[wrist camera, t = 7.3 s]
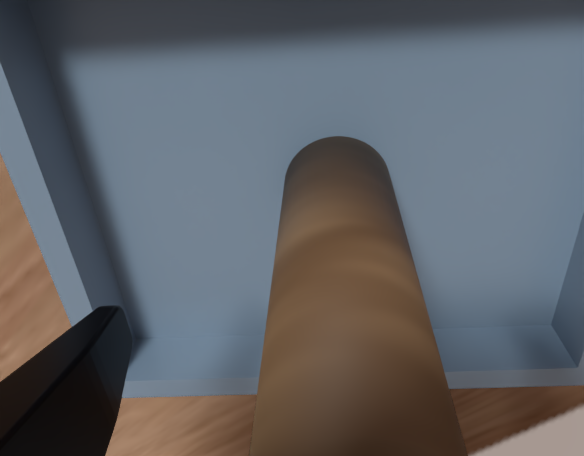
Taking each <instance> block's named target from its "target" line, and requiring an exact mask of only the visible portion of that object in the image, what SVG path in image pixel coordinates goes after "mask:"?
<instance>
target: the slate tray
mask: <svg viewBox="0 0 584 456" xmlns="http://www.w3.org/2000/svg"><path fill="white" fill-rule="evenodd" d="M333 136H345V137H351V138H355V139H358V140H360V141H363V142H365V143H367V144H368V145H370V146H371V147H373V148H374V149H375V150H376V151H377V152H378V153H379V154H380V155H381V157H382V158H383V159H384V161H385V163H386V165H387V168H388V171H389V174H390V178H391V181H392V185H393V188H394V192H395V196H396V199H397V203H398V206H399V210H400V214H401V217H402V221H403V225H404V228H405V232H406V235H407V239H408V243H409V246H410V250H411V253H412V257H413V261H414V264H415V268H416V271H417V275H418V279H419V282H420V286H421V289H422V293H423V297H424V300H425V304H426V307H427V311H428V315H429V318H430V322H431V325H432V329H433V333H434V336H435V340H436V344H437V347H438V351H439V354H440V358H441V362H442V365H443V369H444V372H445V376H446V380H447V383H448V387H449V389H466V388H502V387H539V386H575V385H584V0H0V153H1V155H2V158H3V160H4V162H5V165H6V167H7V170H8V172H9V175H10V177H11V180H12V182H13V184H14V187H15V189H16V192H17V194H18V197H19V199H20V201H21V204H22V206H23V209H24V211H25V214H26V216H27V218H28V221H29V223H30V226H31V228H32V231H33V233H34V236H35V238H36V240H37V243H38V245H39V248H40V250H41V253H42V255H43V257H44V260H45V262H46V265H47V267H48V270H49V272H50V274H51V277H52V279H53V282H54V284H55V287H56V289H57V292H58V294H59V296H60V299H61V301H62V304H63V306H64V309H65V311H66V313H67V316H68V318H69V321H70V323H71V326H72V327H73V326H74V325H75V324H76V323H78V322H79V321H80V320H82V319H83V318H84V317H86V316H87V315H88V314H90V313H91V312H92V311H93V310H95V309H96V308H98V307H99V306H108V305H119V306H121V307H122V308H123V310H124V312H125V315H126V318H127V321H128V324H129V328H130V331H131V334H132V338H133V347H132V352H131V356H130V361H129V366H128V371H127V375H126V380H125V385H124V389H123V394H122V398H138V397H174V396H211V395H247V394H257V390H258V383H259V375H260V367H261V359H262V352H263V344H264V336H265V329H266V321H267V313H268V305H269V298H270V290H271V282H272V274H273V267H274V259H275V251H276V243H277V236H278V228H279V220H280V213H281V205H282V197H283V189H284V182H285V175H286V172H287V169H288V166H289V164H290V162H291V161H292V159H293V158H294V157H295V155H296V154H297V153H298V152H299V151H300V150H301V149H303V148H304V147H305V146H307V145H308V144H310V143H312V142H314V141H316V140H319V139H322V138H326V137H333Z"/></svg>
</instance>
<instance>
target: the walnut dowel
mask: <svg viewBox="0 0 584 456" xmlns="http://www.w3.org/2000/svg"><path fill="white" fill-rule="evenodd" d="M249 456H468V455H467V452H466V448H465V444H464V441H463V437H462V434H461V430H460V426H459V423H458V419H457V416H456V412H455V408H454V405H453V401H452V398H451V394H450V390H449V387H448V383H447V380H446V376H445V372H444V369H443V365H442V362H441V358H440V354H439V351H438V347H437V344H436V340H435V336H434V333H433V329H432V325H431V322H430V318H429V315H428V311H427V307H426V304H425V300H424V297H423V293H422V289H421V286H420V282H419V279H418V275H417V271H416V268H415V264H414V261H413V257H412V253H411V250H410V246H409V243H408V239H407V235H406V232H405V228H404V225H403V221H402V217H401V214H400V210H399V206H398V203H397V199H396V196H395V192H394V188H393V185H392V181H391V178H390V174H389V171H388V168H387V165H386V163H385V161H384V159H383V158H382V157H381V155H380V154H379V153H378V152H377V151H376V150H375V149H374V148H373V147H371V146H370V145H368V144H367V143H365V142H363V141H360V140H358V139H355V138H351V137H345V136H333V137H326V138H322V139H319V140H316V141H314V142H312V143H310V144H308V145H307V146H305V147H304V148H303V149H301V150H300V151H299V152H298V153H297V154H296V155H295V157H294V158H293V159H292V161H291V162H290V164H289V166H288V169H287V172H286V175H285V182H284V189H283V197H282V205H281V213H280V220H279V228H278V236H277V243H276V251H275V259H274V267H273V274H272V282H271V290H270V298H269V305H268V313H267V321H266V329H265V336H264V344H263V352H262V359H261V367H260V375H259V383H258V390H257V398H256V406H255V414H254V421H253V429H252V437H251V444H250V452H249Z"/></svg>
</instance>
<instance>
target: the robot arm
mask: <svg viewBox="0 0 584 456" xmlns="http://www.w3.org/2000/svg"><path fill="white" fill-rule="evenodd" d="M132 347H133V338H132V334H131V331H130V328H129V324H128V321H127V318H126V315H125V312H124V310H123V308H122V307H121V306H119V305H108V306H99V307H98V308H96V309H95V310H93V311H92V312H91V313H90V314H88V315H87V316H86V317H84V318H83V319H82V320H80V321H79V322H78V323H76V324H75V325H74V326H73V327H71V328H70V329H69V330H67V331H66V332H65V333H63V334H62V335H61V336H60V337H58V338H57V339H56V340H54V341H53V342H52V343H50V344H49V345H48V346H47V347H45V348H44V349H43V350H41V351H40V352H39V353H37V354H36V355H35V356H34V357H32V358H31V359H30V360H28V361H27V362H26V363H24V364H23V365H22V366H21V367H19V368H18V369H17V370H15V371H14V372H13V373H11V374H10V375H9V376H7V377H6V378H5V379H4V380H2V381H1V382H0V456H105V454H106V451H107V448H108V445H109V442H110V439H111V436H112V433H113V430H114V427H115V423H116V420H117V416H118V412H119V408H120V403H121V399H122V394H123V389H124V385H125V380H126V375H127V371H128V366H129V361H130V356H131V352H132Z"/></svg>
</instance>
